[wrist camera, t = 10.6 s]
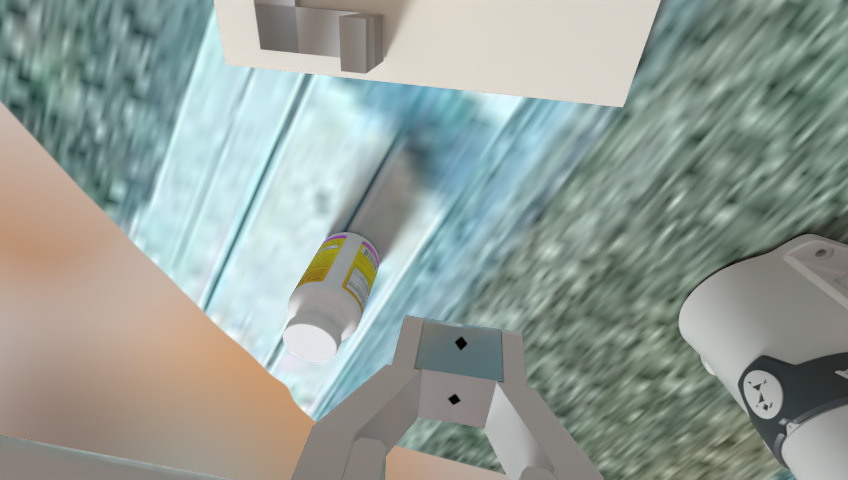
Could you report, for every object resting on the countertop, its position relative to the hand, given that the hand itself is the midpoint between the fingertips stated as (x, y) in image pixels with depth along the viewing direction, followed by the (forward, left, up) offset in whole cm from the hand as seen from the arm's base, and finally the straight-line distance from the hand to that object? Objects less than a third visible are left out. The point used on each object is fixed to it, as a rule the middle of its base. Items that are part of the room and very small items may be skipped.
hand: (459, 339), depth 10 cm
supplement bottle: (+11, +18, -27) cm, 34 cm away
